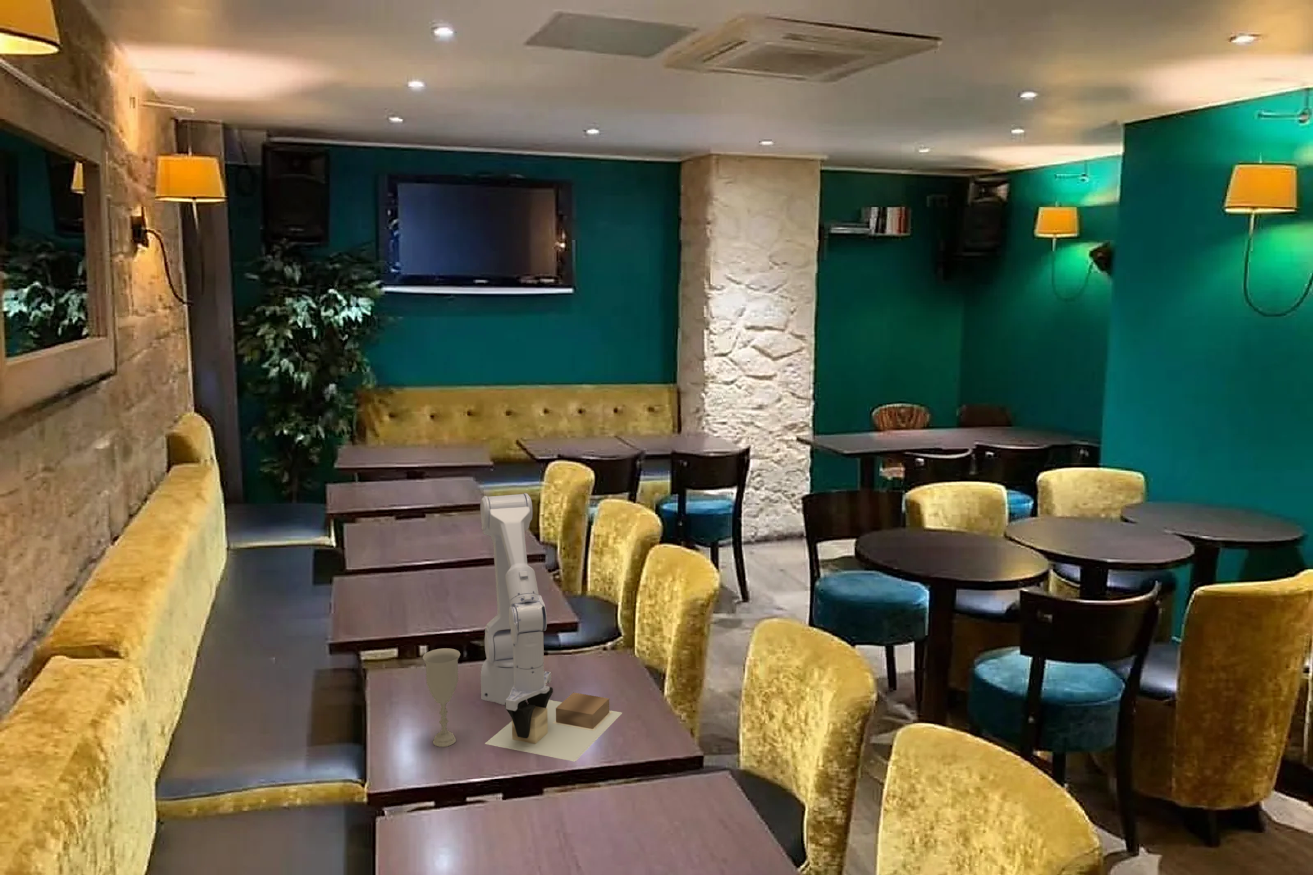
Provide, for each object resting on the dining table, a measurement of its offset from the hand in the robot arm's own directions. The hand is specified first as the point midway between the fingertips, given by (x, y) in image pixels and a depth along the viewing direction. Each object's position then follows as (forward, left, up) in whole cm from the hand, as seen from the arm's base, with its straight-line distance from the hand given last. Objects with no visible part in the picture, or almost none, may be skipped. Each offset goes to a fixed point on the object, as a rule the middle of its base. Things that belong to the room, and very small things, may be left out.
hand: (530, 730), depth 193 cm
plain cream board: (+3, +5, -2) cm, 6 cm away
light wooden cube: (0, 0, -1) cm, 1 cm away
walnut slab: (+6, +11, -1) cm, 13 cm away
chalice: (-14, -8, -2) cm, 16 cm away
